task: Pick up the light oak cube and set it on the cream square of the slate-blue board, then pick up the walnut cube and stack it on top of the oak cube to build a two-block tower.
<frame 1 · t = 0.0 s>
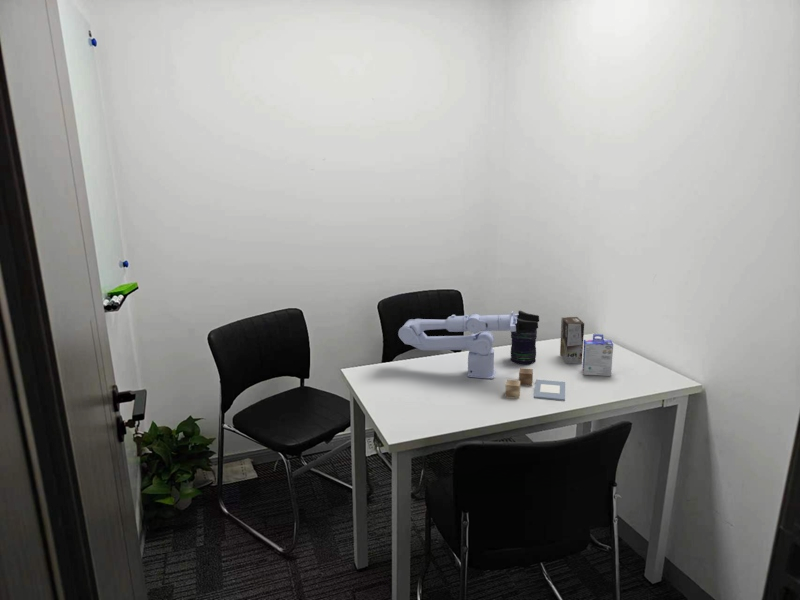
hand: (538, 321, 188), 22 cm above the table, tool horizontal, fingers open, 7 cm apart
oak cube: (512, 395, 182), on the table
storage jar: (523, 360, 211), on the table
coffee box: (570, 359, 211), on the table
ink cartridge box: (596, 373, 197), on the table
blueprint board: (549, 390, 184), on the table
walnut cube: (525, 382, 191), on the table
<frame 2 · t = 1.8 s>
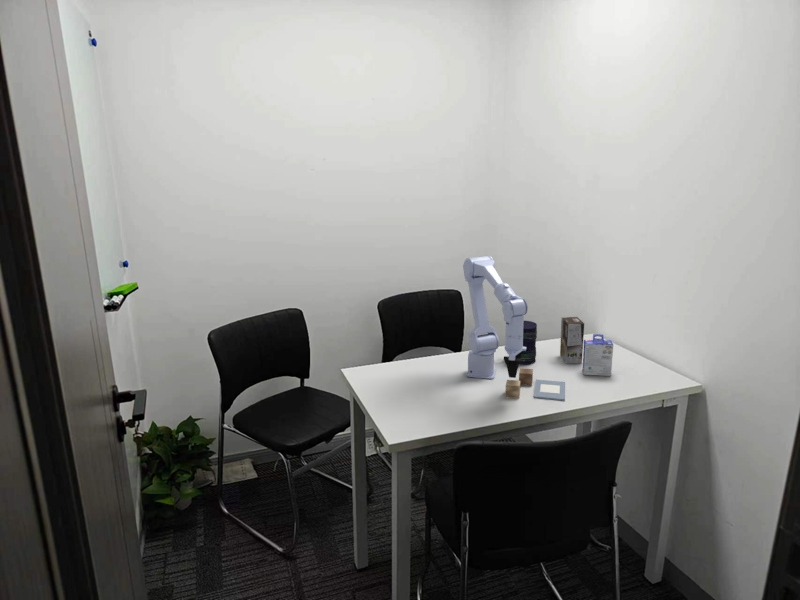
hand: (513, 372, 180), 8 cm above the table, tool pointing down, fingers open, 7 cm apart
nothing on the table moved.
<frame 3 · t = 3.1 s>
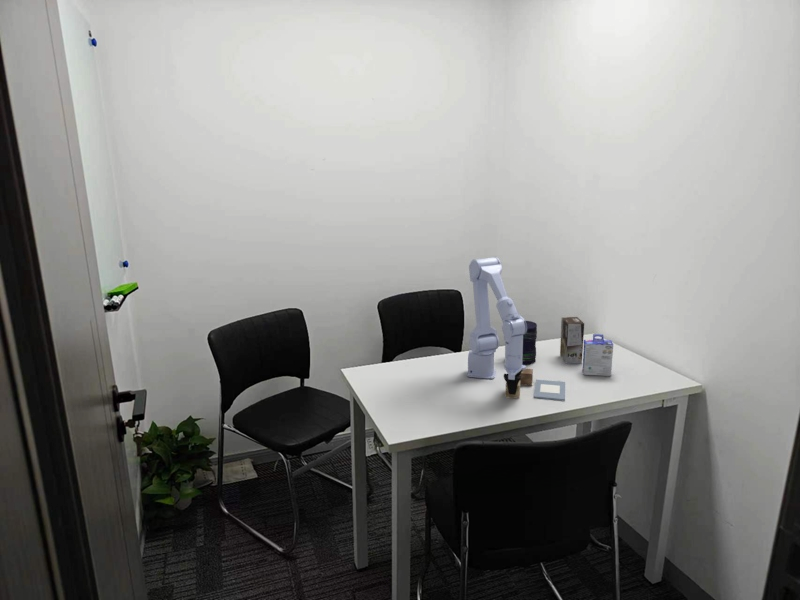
hand: (512, 390, 182), 1 cm above the table, tool pointing down, fingers closed on oak cube, 4 cm apart
oak cube: (512, 394, 182), on the table, touching gripper
everything else where it was.
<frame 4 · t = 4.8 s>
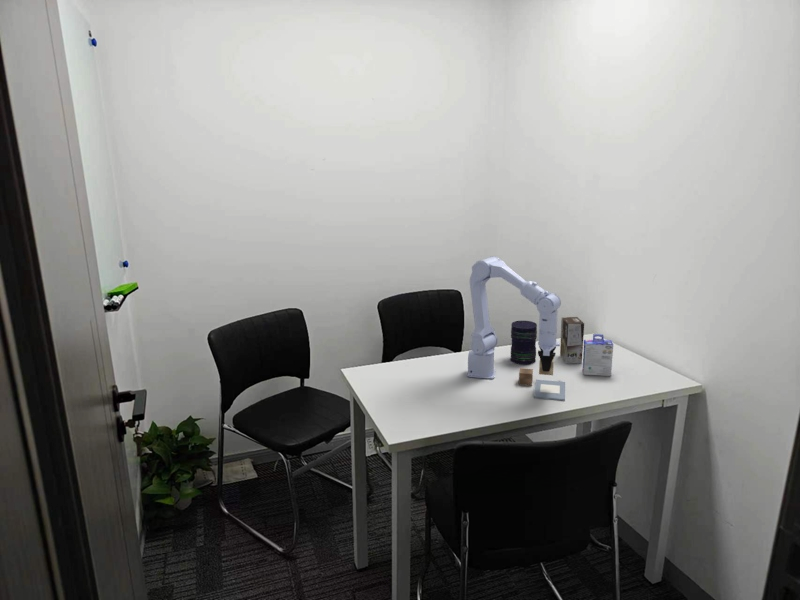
hand: (546, 368, 182), 8 cm above the table, tool pointing down, fingers closed on oak cube, 4 cm apart
oak cube: (546, 372, 182), point 7 cm above the table, touching gripper
everything else where it was.
when the fingers open (3 cm above the table, at t = 6.5 s): oak cube stays where it is, resting on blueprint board.
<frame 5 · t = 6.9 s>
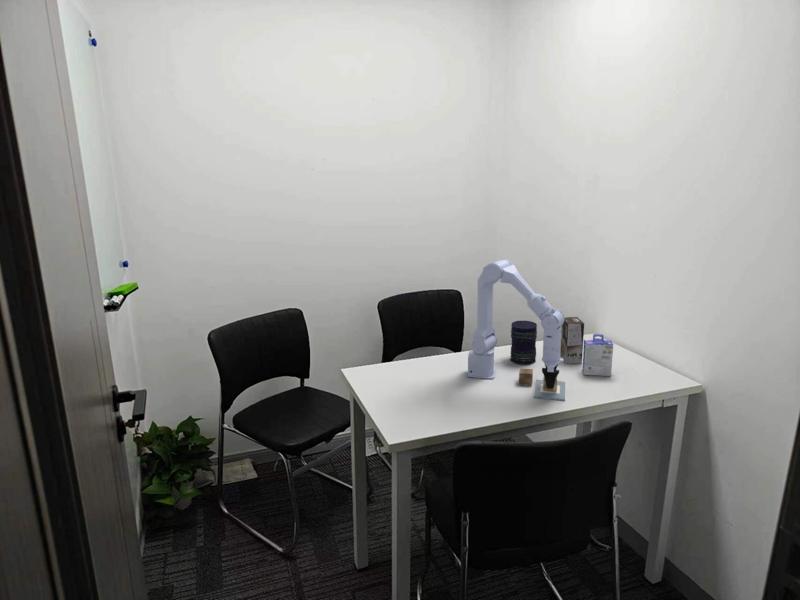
hand: (550, 383, 184), 3 cm above the table, tool pointing down, fingers open, 7 cm apart
oak cube: (550, 388, 184), point 1 cm above the table, touching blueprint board
everything else where it was.
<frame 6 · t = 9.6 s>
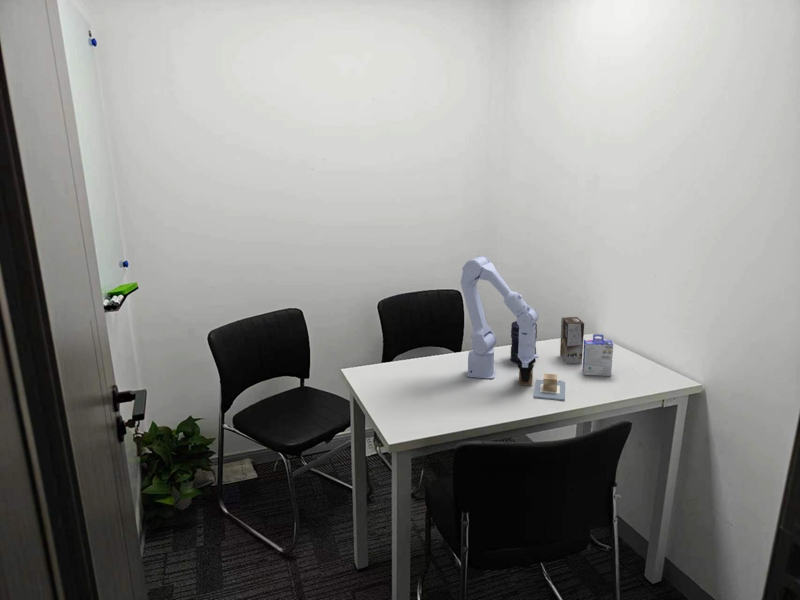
hand: (525, 378, 191), 1 cm above the table, tool pointing down, fingers closed on walnut cube, 4 cm apart
walnut cube: (525, 382, 191), on the table, touching gripper
everything else where it was.
when the fingers open (7 cm above the table, at t = 12.4 s): walnut cube stays where it is, resting on oak cube.
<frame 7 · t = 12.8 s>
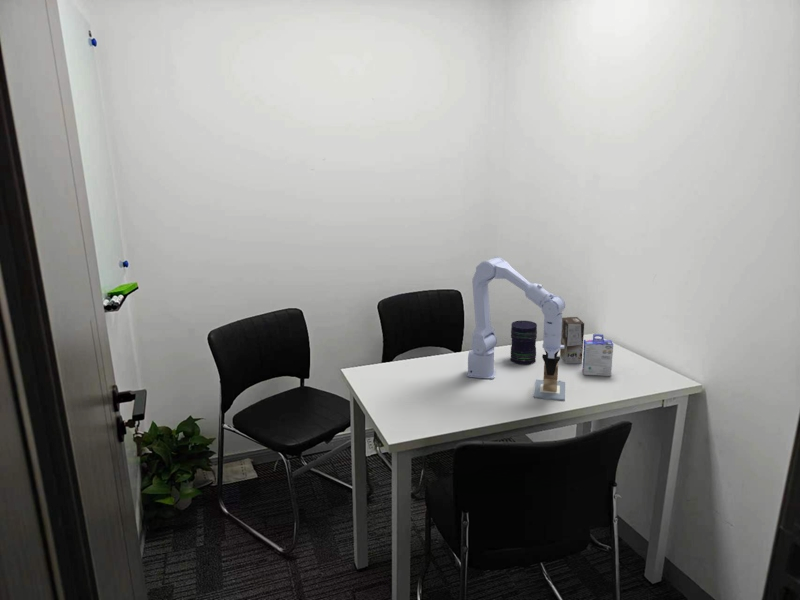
hand: (550, 370, 182), 7 cm above the table, tool pointing down, fingers open, 7 cm apart
oak cube: (550, 388, 184), point 1 cm above the table, touching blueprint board, walnut cube
walnut cube: (550, 376, 183), point 5 cm above the table, touching oak cube
everything else where it was.
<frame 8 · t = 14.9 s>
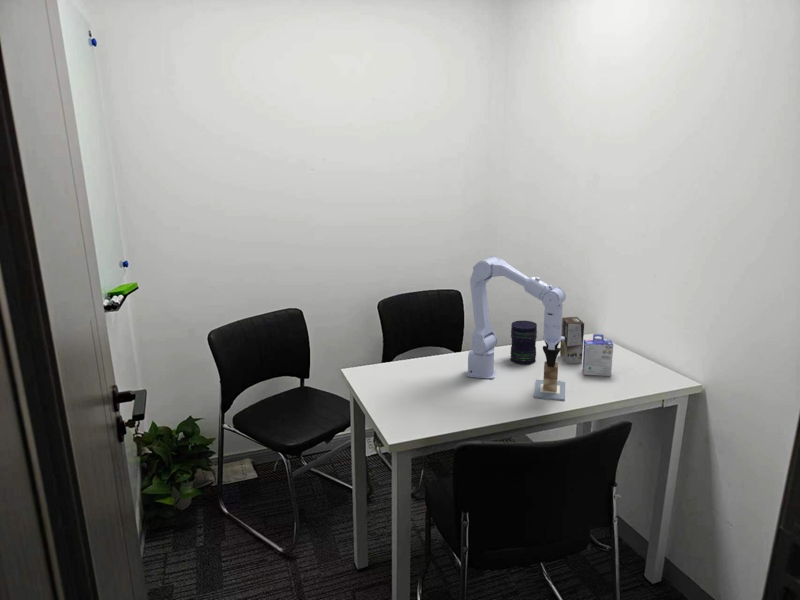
hand: (551, 362, 182), 10 cm above the table, tool pointing down, fingers open, 7 cm apart
nothing on the table moved.
at the end: oak cube 0.0 cm off-centre on the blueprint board, point 0.7 cm above the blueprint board's base; walnut cube 0.0 cm off-centre on the oak cube, point 4.5 cm above the oak cube's base; walnut cube tilted 0° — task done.
